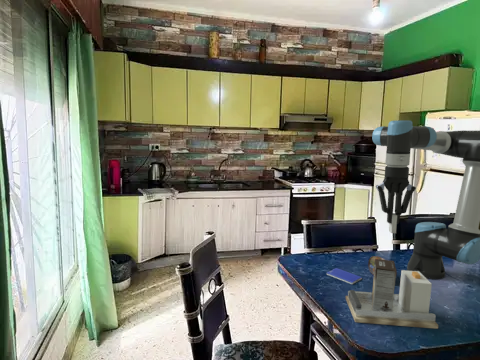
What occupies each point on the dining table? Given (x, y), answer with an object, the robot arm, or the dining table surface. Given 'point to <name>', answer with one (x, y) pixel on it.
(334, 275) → the hard drive
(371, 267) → the tin
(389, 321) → the board
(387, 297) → the coffee box
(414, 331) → the dining table surface
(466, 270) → the dining table surface
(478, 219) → the robot arm
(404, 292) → the breaker module
